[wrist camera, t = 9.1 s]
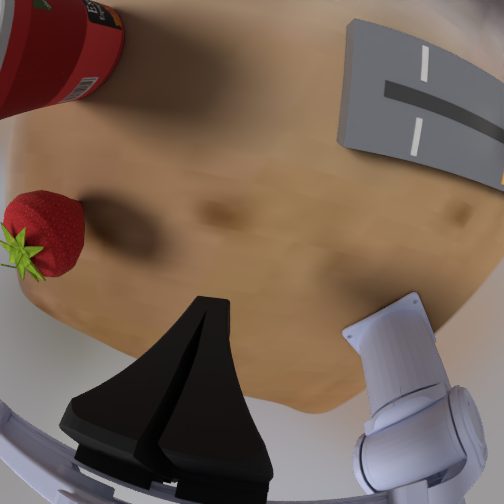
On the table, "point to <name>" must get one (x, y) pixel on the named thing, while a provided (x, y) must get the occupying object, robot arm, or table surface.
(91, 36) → the canned food
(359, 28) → the fader board
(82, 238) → the strawberry
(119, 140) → the table surface
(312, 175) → the table surface
